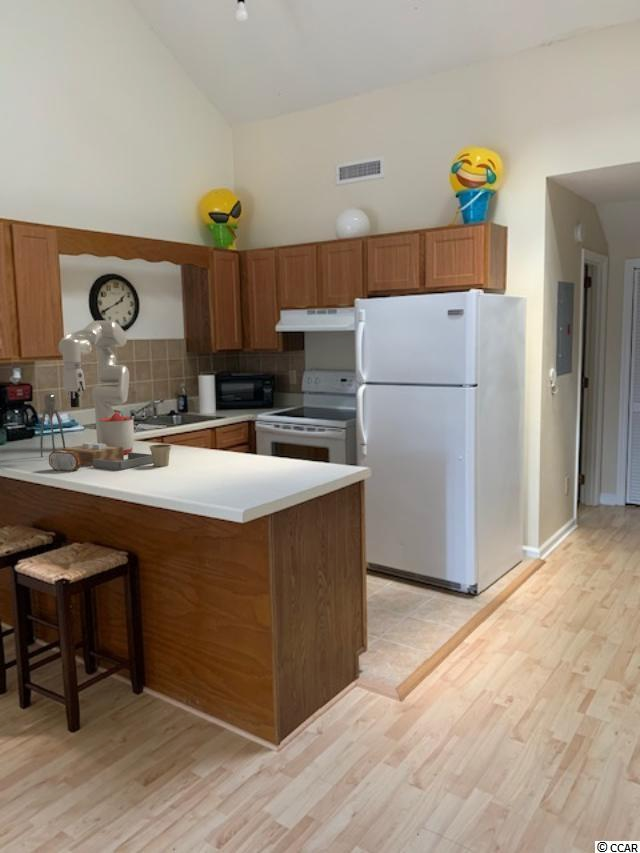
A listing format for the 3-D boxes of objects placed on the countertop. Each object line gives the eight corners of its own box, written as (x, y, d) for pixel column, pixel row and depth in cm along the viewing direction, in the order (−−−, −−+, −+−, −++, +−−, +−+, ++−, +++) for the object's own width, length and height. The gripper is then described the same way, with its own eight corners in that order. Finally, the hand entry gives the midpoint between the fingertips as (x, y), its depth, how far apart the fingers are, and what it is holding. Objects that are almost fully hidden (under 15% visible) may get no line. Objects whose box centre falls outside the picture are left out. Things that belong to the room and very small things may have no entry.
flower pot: (177, 464, 289) (176, 444, 288) (163, 468, 281) (162, 448, 280) (159, 463, 293) (158, 443, 292) (145, 467, 285) (144, 447, 284)
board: (91, 456, 314) (91, 443, 314) (123, 460, 303) (122, 447, 302) (62, 462, 301) (61, 448, 300) (94, 466, 289) (93, 452, 289)
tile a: (90, 446, 305) (89, 442, 305) (96, 447, 303) (95, 442, 303) (82, 447, 302) (82, 443, 301) (88, 448, 299) (88, 444, 299)
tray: (129, 459, 303) (129, 452, 303) (155, 462, 294) (155, 454, 294) (93, 467, 287) (92, 459, 286) (120, 470, 278) (119, 462, 277)
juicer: (66, 454, 320) (61, 392, 316) (54, 459, 309) (50, 394, 305) (46, 455, 321) (42, 392, 317) (34, 459, 310) (29, 394, 306)
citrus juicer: (143, 453, 320) (141, 412, 317) (107, 457, 310) (104, 414, 307) (133, 449, 332) (130, 409, 330) (97, 453, 323) (95, 412, 320)
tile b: (100, 447, 301) (100, 443, 301) (106, 448, 299) (106, 443, 299) (93, 449, 298) (92, 444, 298) (99, 449, 296) (98, 445, 295)
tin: (82, 470, 280) (81, 450, 279) (77, 472, 277) (76, 452, 276) (53, 469, 285) (51, 449, 284) (48, 470, 282) (46, 450, 281)
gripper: (90, 366, 301) (92, 406, 303) (69, 366, 309) (71, 405, 311) (76, 366, 295) (78, 408, 297) (54, 367, 303) (57, 407, 305)
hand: (75, 407), depth 304 cm, fingers closed
